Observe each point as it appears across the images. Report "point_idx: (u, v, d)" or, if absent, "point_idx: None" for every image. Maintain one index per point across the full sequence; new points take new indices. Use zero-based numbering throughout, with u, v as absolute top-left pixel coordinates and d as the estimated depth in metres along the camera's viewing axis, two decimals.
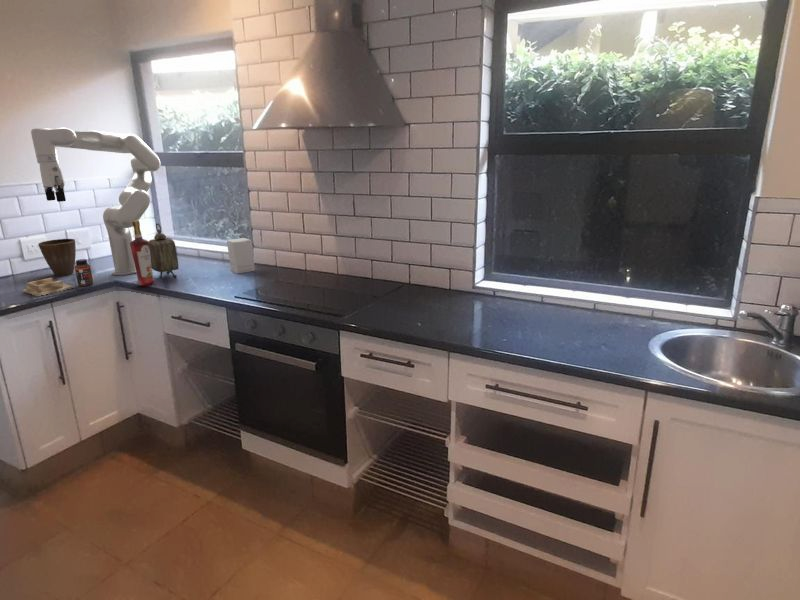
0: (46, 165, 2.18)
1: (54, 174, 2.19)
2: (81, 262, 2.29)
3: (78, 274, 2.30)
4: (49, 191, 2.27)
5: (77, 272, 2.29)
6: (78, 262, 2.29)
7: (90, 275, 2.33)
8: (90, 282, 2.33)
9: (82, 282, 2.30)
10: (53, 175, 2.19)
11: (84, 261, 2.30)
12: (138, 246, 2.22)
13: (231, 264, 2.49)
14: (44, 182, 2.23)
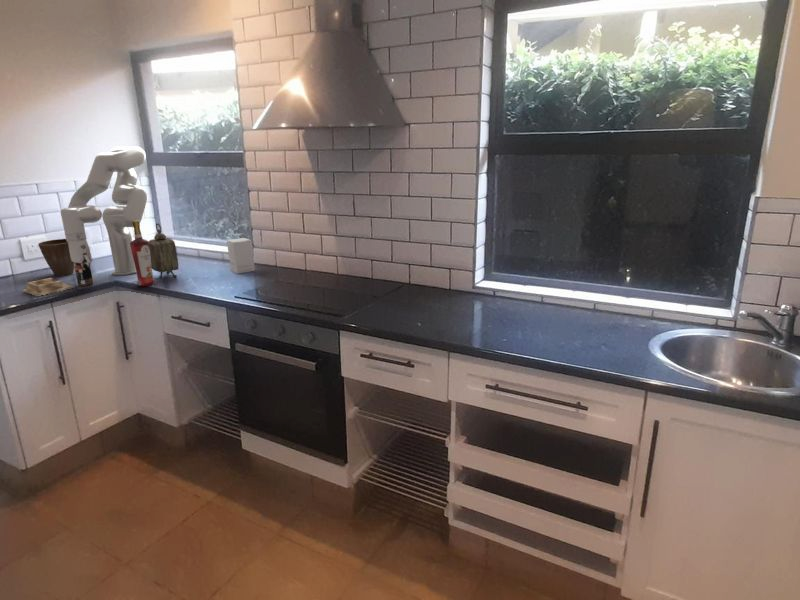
0: (75, 243, 2.25)
1: (82, 251, 2.26)
2: None
3: (78, 274, 2.30)
4: None
5: (77, 272, 2.29)
6: None
7: None
8: (90, 282, 2.33)
9: (82, 282, 2.30)
10: (81, 253, 2.26)
11: (84, 261, 2.30)
12: (138, 246, 2.22)
13: (231, 264, 2.49)
14: (72, 258, 2.30)
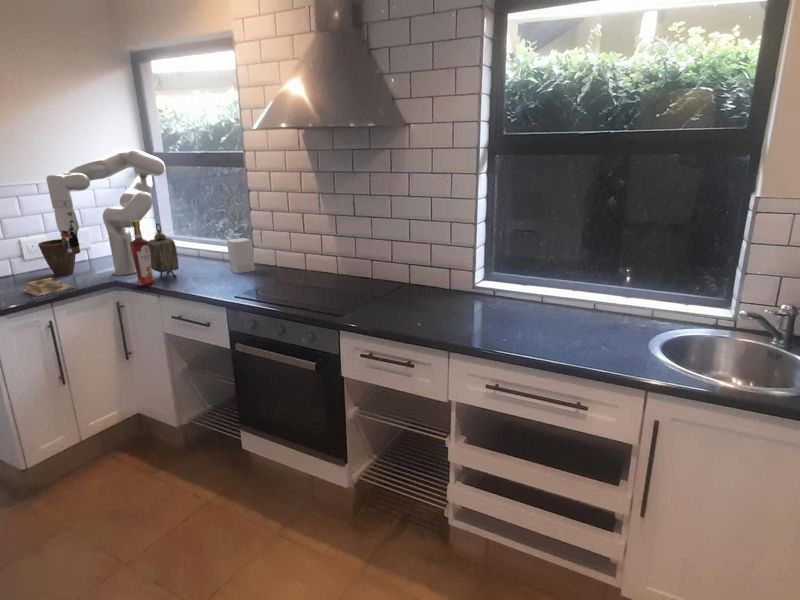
0: (62, 211, 2.23)
1: (69, 219, 2.24)
2: None
3: (65, 242, 2.27)
4: None
5: (64, 240, 2.27)
6: None
7: None
8: (77, 251, 2.31)
9: (69, 250, 2.28)
10: (68, 220, 2.24)
11: (71, 229, 2.28)
12: (138, 246, 2.22)
13: (231, 264, 2.49)
14: (59, 226, 2.28)
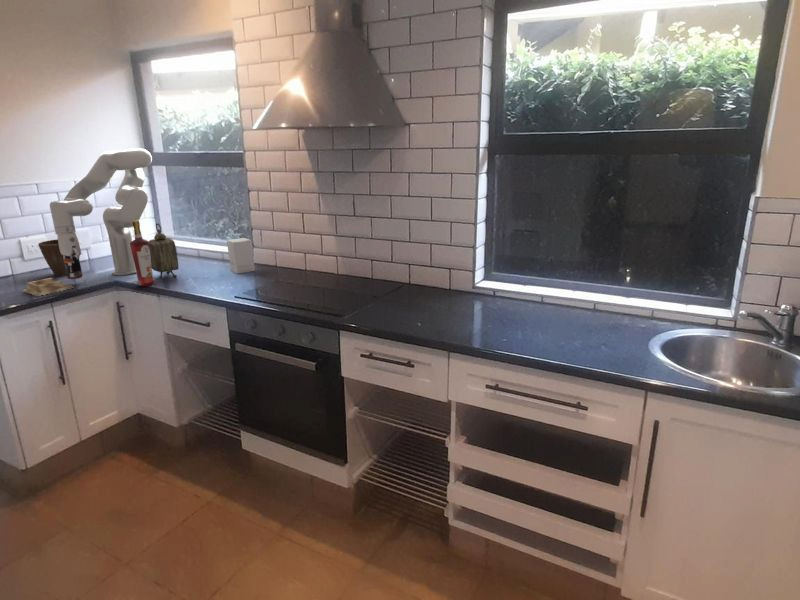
0: (64, 236, 2.25)
1: (71, 244, 2.27)
2: None
3: (67, 267, 2.30)
4: None
5: (66, 265, 2.30)
6: None
7: None
8: (79, 275, 2.33)
9: (71, 275, 2.31)
10: (70, 245, 2.27)
11: (73, 254, 2.31)
12: (138, 246, 2.22)
13: (231, 264, 2.49)
14: (61, 251, 2.31)
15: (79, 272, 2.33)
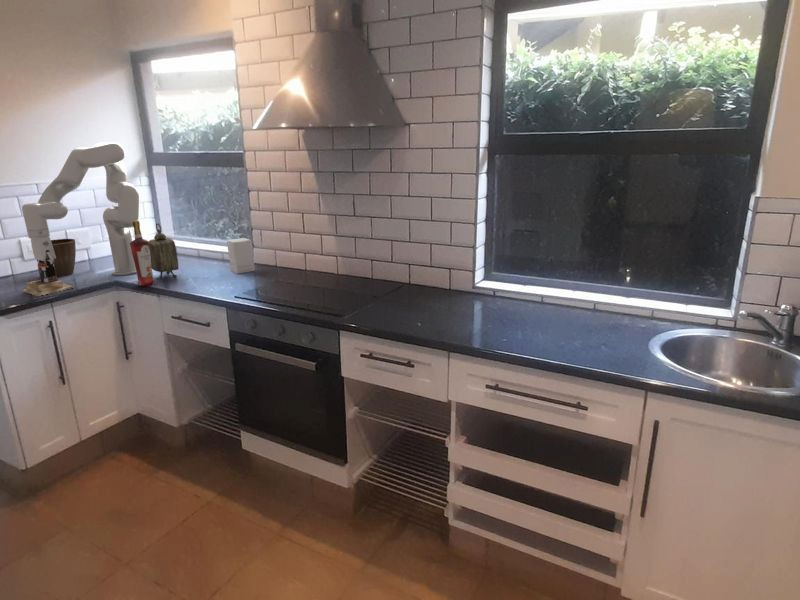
0: (37, 240, 2.17)
1: (45, 249, 2.19)
2: None
3: (41, 272, 2.22)
4: None
5: (40, 270, 2.22)
6: None
7: None
8: (54, 280, 2.25)
9: (45, 280, 2.23)
10: (44, 250, 2.19)
11: None
12: (138, 246, 2.22)
13: (231, 264, 2.49)
14: (35, 255, 2.23)
15: (54, 277, 2.25)
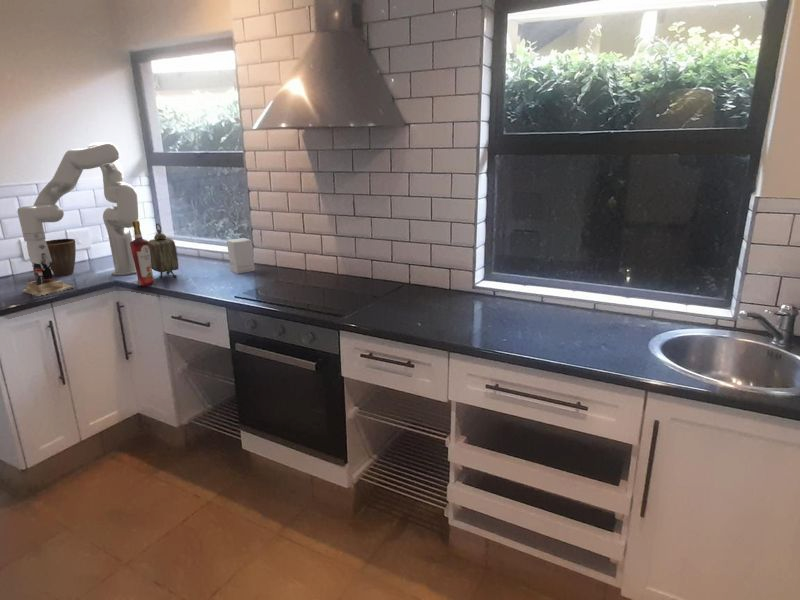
0: (33, 243, 2.16)
1: (41, 252, 2.18)
2: None
3: (38, 277, 2.22)
4: None
5: (37, 275, 2.21)
6: (38, 265, 2.21)
7: (51, 278, 2.25)
8: None
9: None
10: (40, 253, 2.17)
11: None
12: (138, 246, 2.22)
13: (231, 264, 2.49)
14: (31, 258, 2.21)
15: (50, 282, 2.25)
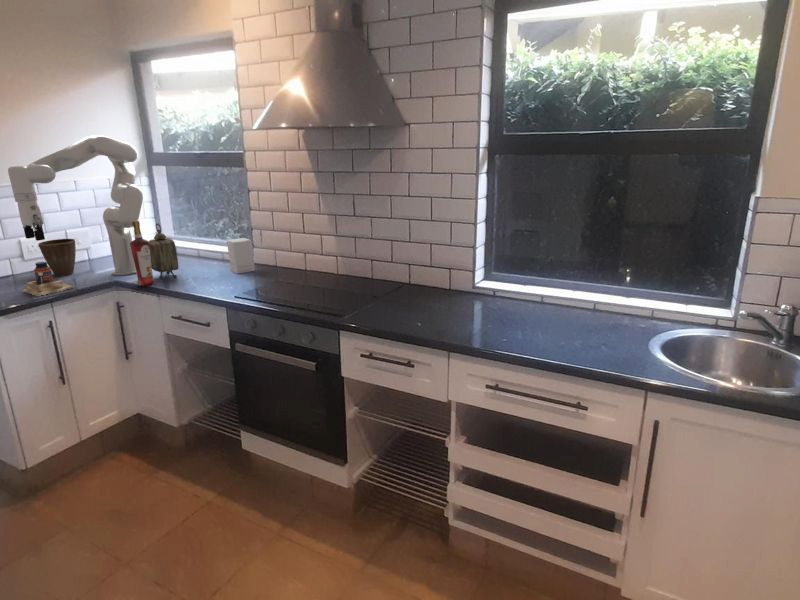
0: (24, 204, 2.12)
1: (32, 213, 2.13)
2: (41, 265, 2.21)
3: (38, 277, 2.22)
4: (27, 228, 2.21)
5: (36, 275, 2.21)
6: (37, 265, 2.21)
7: (51, 278, 2.25)
8: None
9: None
10: (31, 214, 2.13)
11: (44, 264, 2.22)
12: (138, 246, 2.22)
13: (231, 264, 2.49)
14: (22, 220, 2.17)
15: (50, 282, 2.25)
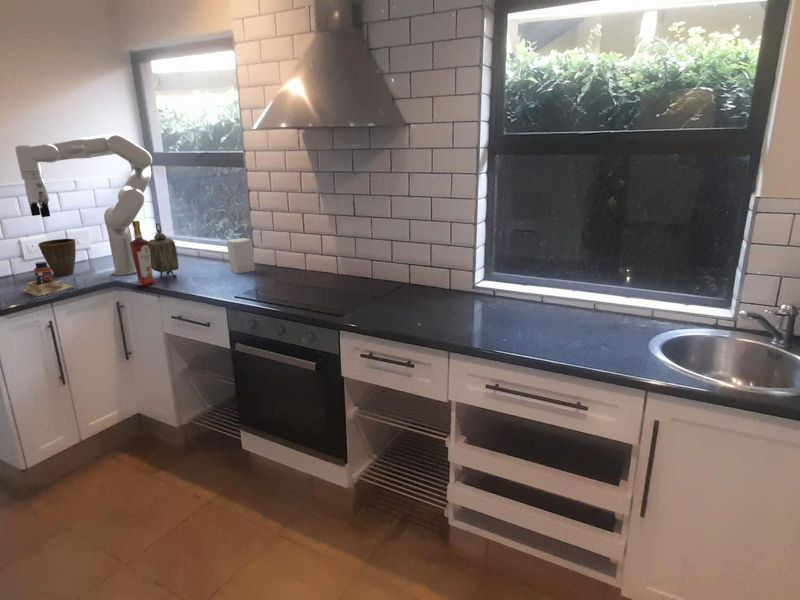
0: (31, 181, 2.21)
1: (38, 190, 2.22)
2: (41, 265, 2.21)
3: (38, 277, 2.22)
4: (33, 206, 2.30)
5: (36, 275, 2.21)
6: (37, 265, 2.21)
7: (50, 278, 2.25)
8: None
9: None
10: (37, 191, 2.22)
11: (44, 264, 2.22)
12: (138, 246, 2.22)
13: (231, 264, 2.49)
14: (29, 198, 2.26)
15: (50, 282, 2.25)
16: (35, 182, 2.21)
